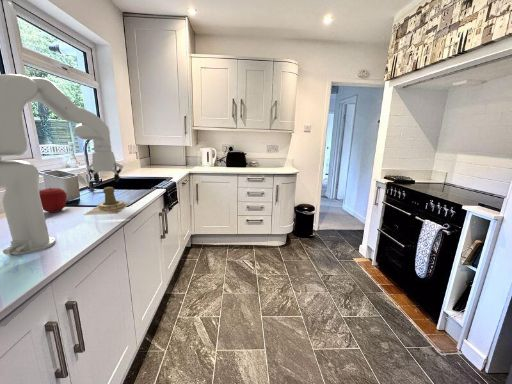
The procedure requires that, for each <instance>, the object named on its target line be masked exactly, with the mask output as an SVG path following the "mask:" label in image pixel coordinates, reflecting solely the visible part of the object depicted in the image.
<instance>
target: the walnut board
mask: <svg viewBox="0 0 512 384" xmlns="http://www.w3.org/2000/svg"><path fill="white" fill-rule="evenodd" d="M130 204H132V201H131V202H129V201H128V202H124V206H123V207H120V208H117V209H112V210H100V209H99V208H98V205H96V206H95V207H94V208H92V209H91V210H89V211H87V212H86V213H84V214H83V216H89V215H90V216H95V215H113V214H114V215H115V214H117V215H118V214H119V213H120V212H121V211H123V210H124V209H126V208H127V206H129V205H130Z"/></svg>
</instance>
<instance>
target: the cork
mask: <svg viewBox="0 0 512 384" xmlns="http://www.w3.org/2000/svg"><path fill="white" fill-rule="evenodd" d="M102 190H103V191H102V192H103V193H104V202H105V205H114V204H117V202H116V200H117V199H116V197H115V196H116V195H115V193H114V192H115V188H114V187H113V186H107V187H106V186H105V187H104V188H103V189H102Z"/></svg>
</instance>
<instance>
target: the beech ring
mask: <svg viewBox="0 0 512 384" xmlns="http://www.w3.org/2000/svg"><path fill="white" fill-rule="evenodd" d="M116 202H117V204H114V205H105V201H102V202H99V203H98V204H97V206H98V208H99V209H100V210H112V209H117V208H120V207H123V206H124V203H125V202H124V200H121V199H116Z"/></svg>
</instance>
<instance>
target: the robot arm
mask: <svg viewBox="0 0 512 384" xmlns="http://www.w3.org/2000/svg"><path fill="white" fill-rule="evenodd" d="M29 102H34V103H35V102H37V103H40V104H42V105H43V106H44V107H46V108H47V109H48V110H49V111H50V112H52V113H53V114H54V115H55V116H56V117H57V118H59V119H61V120H63V121H67V122H71V123H74V124H77V125H76V126H75V127H74V134H75V135H76V136H77V137H78V138H79V139H80V140H86V141H87V140H88V141H89V140H90V141H91V140H92V143H93V146H92V147H90V148H91V151H94V152H92V160H91V161H92V163H91V164H89V165H87V166H86V169H87V170H88V171H89V173H91V174H92V175H93V180H94V182H95V183H99V182H100V177H99V175H100V174H99V173H100V172H112V173H114V174H113V176H114V178H113V179H114V182H115V183H119V181H120V174H121V172H122V170H123V169H124V165H122V164H120V163H117V161H116V156H115V155H114V154H115V153H114V151H112V143H111V138H110V136H111V135H110V134H111V132H110V128H109V126H108V125H107V124H106V123H105V122H104V121H103V120H102V119H101V118H100V117H99V116H98V115H96V114H95V113H93V112H91V111H89V110H87V109H85V108H84V107H81V106H79V105H77V104H76V103H74V102H73V101H72V100H71V99H70V98H69V97H68V96H67V95H66V94H65V93H64V92H63V91H62V90H61V89H60V88H59V87H58V86H57V85H56V84H55V83H54V82H53V81H52V80H50V79H48V78H44V77H29V76H27V75H23V74H14V73H9V74H8V73H4V74H0V189H4V190H5V191H4V194H3V196H2V207H3V209H4V213H5V214H4V215H5V217H6V220H7V224H8V228H9V232H10V236H11V241H10V245H9V247H6V248H5V249H3V250H2V253H3V254H4V255H6V256H7V255H10V254H11V255H21V256H22V255H28V254H32V253H36V252H41V251H42V250H46V249H48V248H50V247H52V246H53V245H54V244H55V243H56V238H55V237H52V236H50V235H49V230H48V226H47V221H46V217H45V213H44V212H45V211H44V210H43V207H42V203H41V199H40V193H39V192H40V173H39V170H38V169H37V167H36V166H35V165H34V164H32V163H30V162H28V161H24V160H16V159H14V160H13V159H12V160H10V159H9V160H8V159H6V160H5V159H3V160H2V157H19V156H21V155H24V154H25V153H26V152H27V150H28V142H27V137H26V136H27V135H26V131H25V127H24V121H23V111H24V108H25V106H26V105H27V104H29ZM117 167H118V168H117Z"/></svg>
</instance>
